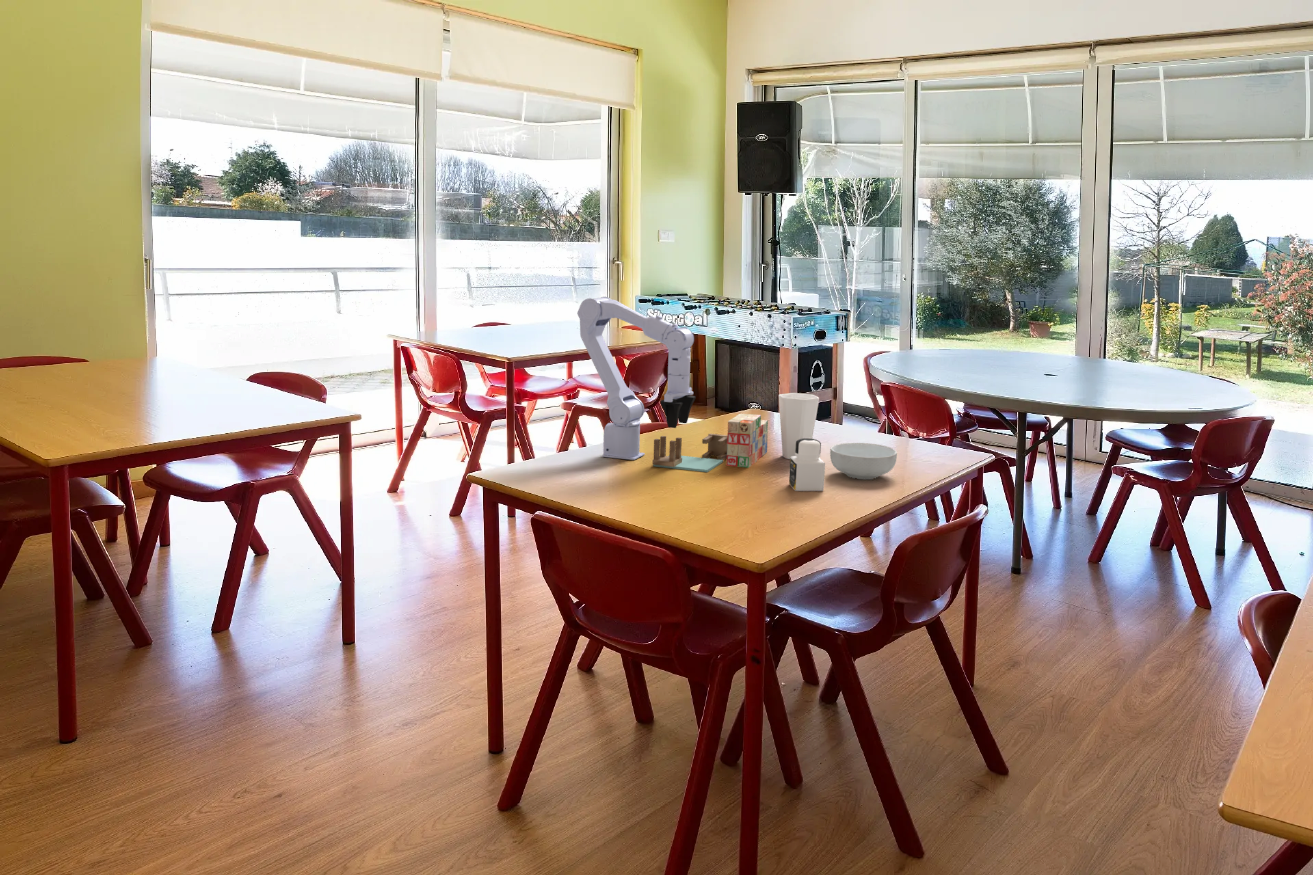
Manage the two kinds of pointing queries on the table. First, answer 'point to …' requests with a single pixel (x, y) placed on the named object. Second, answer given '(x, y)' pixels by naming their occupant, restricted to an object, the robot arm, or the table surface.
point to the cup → (796, 419)
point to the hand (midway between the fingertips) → (677, 425)
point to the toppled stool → (716, 446)
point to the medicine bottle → (807, 466)
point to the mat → (695, 464)
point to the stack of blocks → (746, 440)
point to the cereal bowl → (863, 459)
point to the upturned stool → (661, 456)
